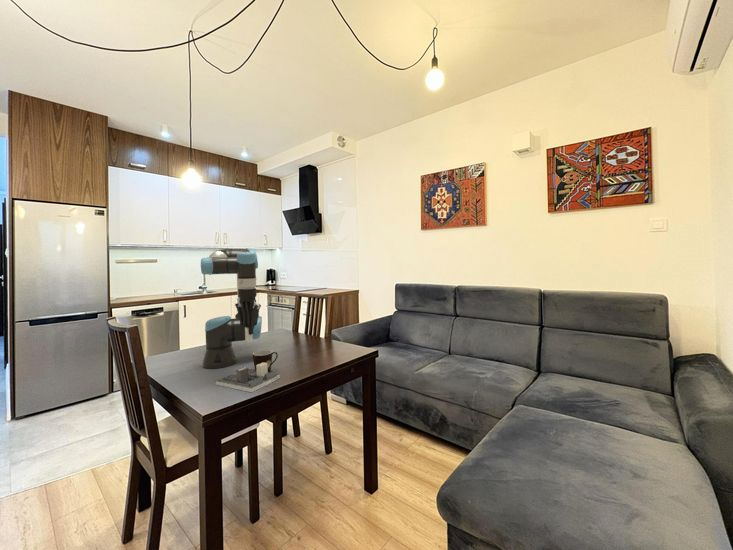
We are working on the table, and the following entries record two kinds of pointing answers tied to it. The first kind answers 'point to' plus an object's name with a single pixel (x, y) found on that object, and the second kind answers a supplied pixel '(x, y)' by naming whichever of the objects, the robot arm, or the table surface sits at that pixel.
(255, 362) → the coffee mug
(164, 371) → the table surface
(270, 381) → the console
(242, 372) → the block
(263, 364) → the fader
